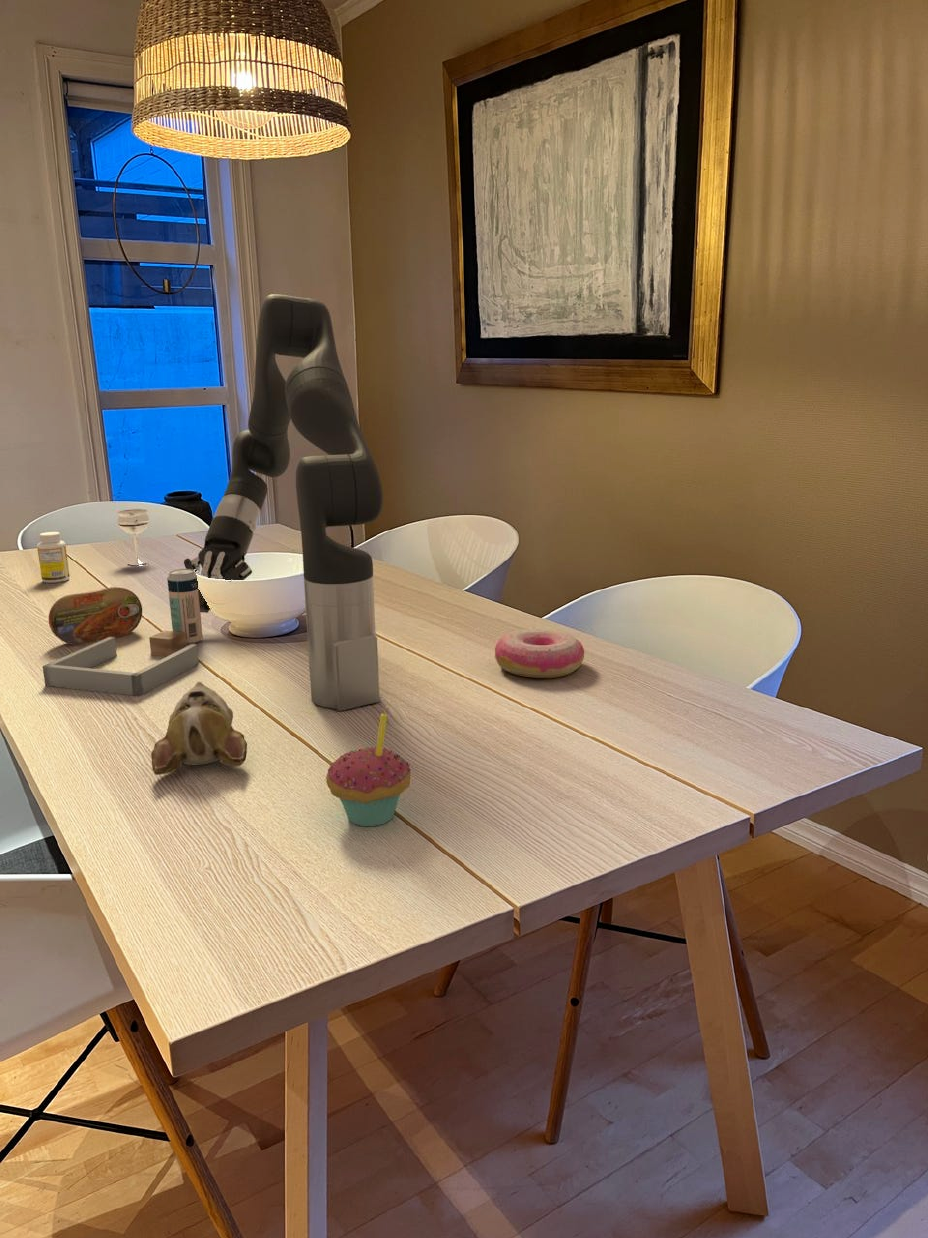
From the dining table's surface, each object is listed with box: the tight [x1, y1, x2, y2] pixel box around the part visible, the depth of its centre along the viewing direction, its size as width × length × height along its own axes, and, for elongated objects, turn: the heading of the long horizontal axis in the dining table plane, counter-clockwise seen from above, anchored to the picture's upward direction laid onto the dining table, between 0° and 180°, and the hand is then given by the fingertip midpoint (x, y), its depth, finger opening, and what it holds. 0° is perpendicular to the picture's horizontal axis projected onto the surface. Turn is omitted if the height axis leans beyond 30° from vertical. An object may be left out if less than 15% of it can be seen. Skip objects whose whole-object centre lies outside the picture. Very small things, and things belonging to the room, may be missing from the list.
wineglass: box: [117, 508, 150, 564], centre depth 216 cm, size 7×7×12 cm
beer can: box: [166, 568, 204, 646], centre depth 156 cm, size 5×5×12 cm
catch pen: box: [42, 637, 200, 697], centre depth 141 cm, size 15×16×3 cm
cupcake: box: [325, 706, 411, 827], centre depth 96 cm, size 9×8×12 cm
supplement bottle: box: [36, 531, 71, 584], centre depth 200 cm, size 6×6×10 cm
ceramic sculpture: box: [150, 681, 248, 776], centre depth 111 cm, size 11×9×15 cm
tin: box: [48, 586, 143, 646], centre depth 159 cm, size 15×3×8 cm, turn 129°
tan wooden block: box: [148, 630, 188, 657], centre depth 152 cm, size 4×4×3 cm
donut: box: [494, 628, 585, 679], centre depth 141 cm, size 14×13×5 cm
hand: (201, 610), depth 160 cm, fingers closed
